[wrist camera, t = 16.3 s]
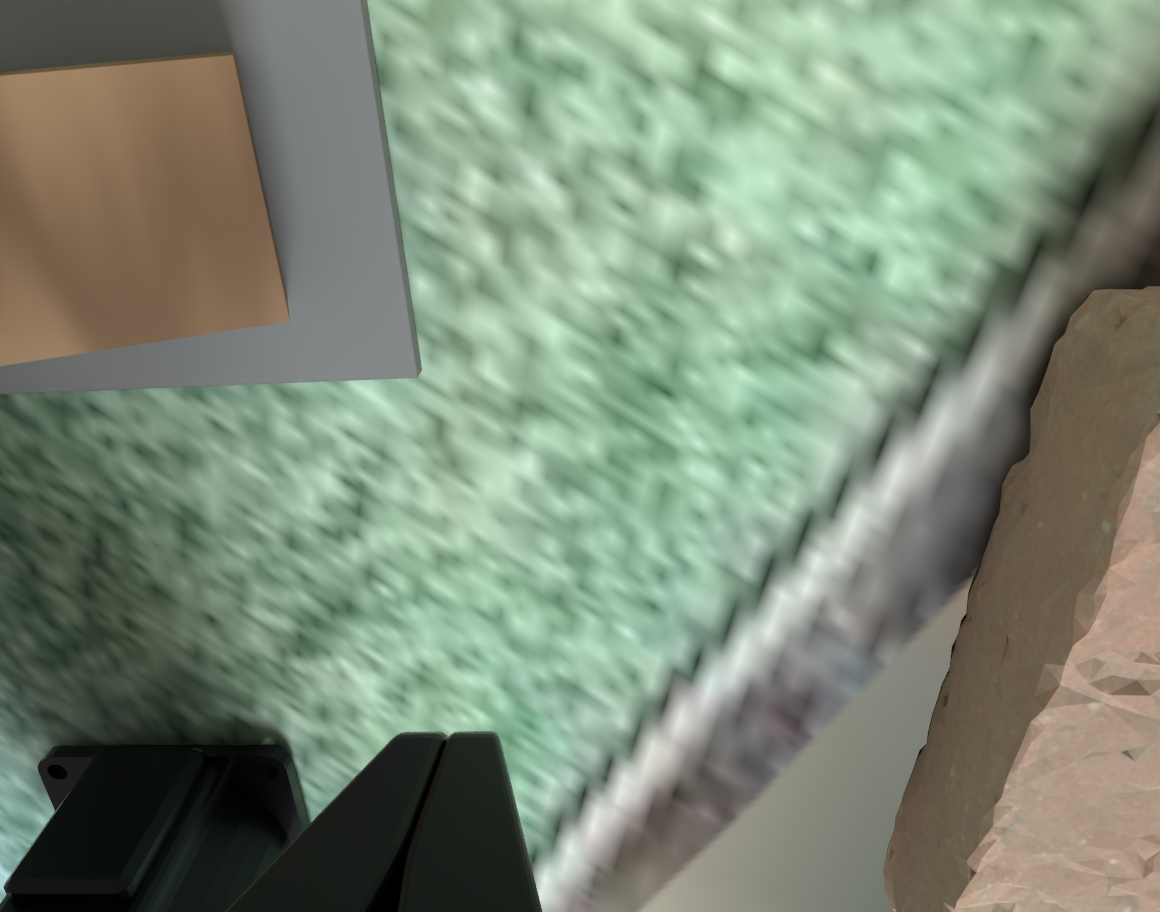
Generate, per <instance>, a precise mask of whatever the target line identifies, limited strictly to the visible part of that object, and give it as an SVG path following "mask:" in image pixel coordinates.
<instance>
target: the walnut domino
mask: <svg viewBox="0 0 1160 912" xmlns="http://www.w3.org/2000/svg"><path fill="white" fill-rule="evenodd" d="M289 321H290V317H289V307H288V298H287V293H286V288H285V283H284V279H283V274H282V269H281V265H280V260H279V255H278V251H277V246H276V241H275V237H274V232H273V227H272V223H271V218H270V213H269V208H268V204H267V199H266V194H265V190H264V185H263V180H262V176H261V171H260V166H259V162H258V157H257V152H256V148H255V143H254V138H253V133H252V129H251V124H250V119H249V115H248V110H247V105H246V101H245V96H244V91H243V87H242V82H241V77H240V73H239V68H238V63H237V58H236V54H235V51H228V52H216V53H205V54H194V55H183V56H172V57H160V58H149V59H138V60H127V61H116V62H105V63H93V64H82V65H71V66H60V67H49V68H37V69H26V70H15V71H4V72H0V366H4V365H10V364H17V363H23V362H30V361H36V360H43V359H49V358H56V357H62V356H69V355H75V354H82V353H88V352H95V351H101V350H108V349H114V348H121V347H127V346H134V345H140V344H146V343H153V342H159V341H166V340H172V339H179V338H185V337H192V336H198V335H205V334H211V333H218V332H224V331H231V330H237V329H244V328H250V327H257V326H263V325H269V324H276V323H282V322H289Z"/></svg>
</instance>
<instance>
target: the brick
mask: <svg viewBox="0 0 1160 912" xmlns="http://www.w3.org/2000/svg"><path fill="white" fill-rule="evenodd" d="M1030 424H1031V435H1030V452H1029V454H1028V455H1027V456H1026V457H1025V458H1024V460H1022V461H1020V462H1018V463H1016V464H1013V466H1012V467H1011V469H1010V471H1009V472H1008V474H1007V476H1006V479H1005V481H1004V483H1003V485H1002V494H1001V503H1000V512H999V515H998V517H997V519H996V521H995V523H994V526H993V529H992V532H991V535H990V539H989V542H988V545H987V547H986V550H985V553H984V556H983V559H982V563H981V567H980V570H979V573H978V575H977V576H976V577H974V578H973V580H972V583H971V586H970V589H969V592H968V600H967V611H966V614H965V616H964V617H963V618H962V620H961V623H960V628H959V633H958V635H957V637H956V639H955V641H954V643H953V645H952V650H951V661H950V668H949V671H948V672H947V675H946V677H945V679H944V681H943V683H942V685H941V689H940V692H939V696H938V699H937V702H936V705H935V708H934V710H933V714H932V717H931V722H930V726H929V730H928V736H927V744H926V745H924V746H923V747H922V748H921V749H920V750H919V753H918V756H917V759H916V762H915V765H914V768H913V771H912V774H911V776H910V779H909V782H908V784H907V787H906V789H905V792H904V795H903V798H902V802H901V805H900V808H899V810H898V813H897V815H896V819H895V828H894V832H893V835H892V838H891V840H890V842H889V844H888V849H887V855H886V860H885V865H884V869H883V882H884V887H885V892H886V894H887V897H888V900H889V902H890V905H891V908H892V909H893V910H894V911H895V912H1160V286H1147V287H1145V288H1144V289H1143V290H1131V289H1103V290H1095V291H1092V293H1091V294H1090V295H1089V296H1088V298H1087V299H1086V300H1085V302H1084V303H1083V304H1082V305H1081V306H1080V307H1079V308H1078V309H1077V310H1076V311H1075V312H1074V313H1073V314H1072V315H1071V317H1070V320H1069V323H1068V326H1067V329H1066V332H1065V334H1064V335H1063V336H1062V337H1061V338H1060V339H1059V340H1058V341H1057V342H1056V343H1055V345H1054V349H1053V352H1052V355H1051V358H1050V362H1049V365H1048V368H1047V371H1046V374H1045V376H1044V379H1043V382H1042V384H1041V387H1040V390H1039V392H1038V394H1037V397H1036V399H1035V401H1034V403H1033V405H1032V407H1031V409H1030Z"/></svg>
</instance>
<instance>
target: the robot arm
mask: <svg viewBox="0 0 1160 912" xmlns="http://www.w3.org/2000/svg"><path fill="white" fill-rule="evenodd" d="M267 764H270V765H272V766H274V767H271V766H269V765H267ZM38 770H39V774H40V776H41V779H42V781H43V783H44V786H45V788H46V790H47V793H48V795H49V797H50V800H51V802H52V804H53V807H54V809H55V813H54V814H53V815H52V817H51V818H50V820H49V821H48V822H47V824H46V825H45V827H44V828H43V830H42V831H41V832H40V834H39V835H38V837H37V838H36V840H35V841H34V842H33V844H32V845H31V847H30V848H29V849H28V851H27V852H26V854H25V855H24V857H23V858H22V859H21V861H20V862H19V864H18V865H17V866H16V868H15V869H14V871H13V872H12V874H11V875H10V876H9V878H8V879H7V881H6V883H5V885H4V890H5V892H6V896H5V897H4V898H3V900H2V901H1V903H0V912H542V909H541V905H540V901H539V896H538V892H537V888H536V884H535V880H534V876H533V872H532V868H531V864H530V860H529V855H528V851H527V847H526V843H525V839H524V835H523V831H522V827H521V823H520V819H519V814H518V810H517V806H516V802H515V798H514V794H513V790H512V786H511V782H510V778H509V773H508V769H507V765H506V761H505V757H504V753H503V749H502V745H501V741H500V738H499V736H498V735H497V733H495V732H491V731H474V732H454V733H453V734H451V735H450V736H449V737H448V736H447V735H446V734H444V733H442V732H404V733H400V734H399V735H397V736H395V737H394V738H393V739H392V740H391V741H390V742H389V743H388V744H387V745H386V746H385V747H384V748H383V749H382V750H381V751H380V752H379V753H378V754H377V755H376V756H375V757H374V758H373V759H372V760H371V761H370V762H369V763H368V765H367V766H366V767H365V768H364V769H363V770H362V771H361V772H360V773H359V774H358V775H357V776H356V777H355V778H354V779H353V780H352V781H351V782H350V783H349V784H348V785H347V786H346V787H345V788H344V789H343V790H342V791H341V792H340V793H339V795H338V796H337V797H336V798H335V799H334V800H333V801H332V802H331V803H330V804H329V805H328V806H327V807H326V808H325V809H324V810H323V811H322V812H321V813H320V814H319V815H318V816H317V817H316V818H315V819H314V820H313V821H312V822H311V823H310V825H309V822H308V818H307V814H306V810H305V807H304V803H303V799H302V795H301V792H300V788H299V784H298V780H297V776H296V773H295V769H294V765H293V761H292V759H291V757H290V755H289V753H288V752H286V751H285V750H284V749H283V748H280V747H278V746H275V745H125V746H57V747H53V748H51V749H50V750H49V751H48V752H47V753H46V754H45V756H44V757H43V758H42V760H41V761H40V763H39V765H38Z"/></svg>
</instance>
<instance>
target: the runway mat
mask: <svg viewBox="0 0 1160 912" xmlns="http://www.w3.org/2000/svg"><path fill="white" fill-rule="evenodd" d="M228 51H235V54H236V58H237V63H238V68H239V73H240V77H241V82H242V87H243V91H244V96H245V101H246V105H247V110H248V115H249V119H250V124H251V129H252V133H253V138H254V143H255V148H256V152H257V157H258V162H259V166H260V171H261V176H262V180H263V185H264V190H265V194H266V199H267V204H268V208H269V213H270V218H271V223H272V227H273V232H274V237H275V241H276V246H277V251H278V255H279V260H280V265H281V269H282V274H283V279H284V283H285V288H286V293H287V298H288V307H289V317H290V321H289V322H282V323H276V324H269V325H263V326H257V327H250V328H244V329H237V330H231V331H224V332H218V333H211V334H205V335H198V336H192V337H185V338H179V339H172V340H166V341H159V342H153V343H146V344H140V345H134V346H127V347H121V348H114V349H108V350H101V351H95V352H88V353H82V354H75V355H69V356H62V357H56V358H49V359H43V360H36V361H30V362H23V363H17V364H10V365H4V366H0V394H18V393H43V392H68V391H94V390H119V389H144V388H170V387H195V386H220V385H246V384H271V383H296V382H322V381H347V380H372V379H398V378H418V376H419V374H420V372H421V371H422V369H421V362H420V355H419V349H418V342H417V335H416V329H415V322H414V315H413V309H412V302H411V295H410V288H409V282H408V275H407V268H406V262H405V255H404V248H403V242H402V235H401V228H400V222H399V215H398V208H397V202H396V195H395V188H394V181H393V175H392V168H391V161H390V155H389V148H388V141H387V135H386V128H385V121H384V115H383V108H382V101H381V95H380V88H379V81H378V74H377V68H376V61H375V54H374V48H373V41H372V34H371V28H370V21H369V14H368V8H367V1H366V0H0V72H4V71H15V70H26V69H37V68H49V67H60V66H71V65H82V64H93V63H105V62H116V61H127V60H138V59H149V58H160V57H172V56H183V55H194V54H205V53H216V52H228Z"/></svg>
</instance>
